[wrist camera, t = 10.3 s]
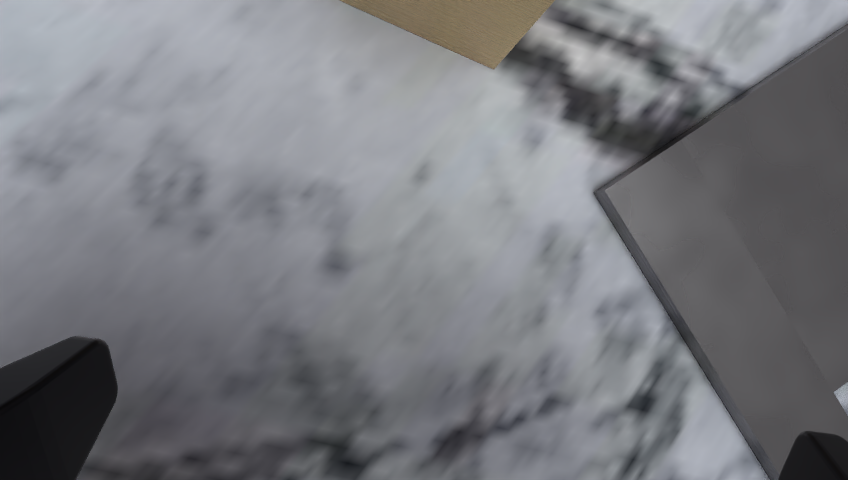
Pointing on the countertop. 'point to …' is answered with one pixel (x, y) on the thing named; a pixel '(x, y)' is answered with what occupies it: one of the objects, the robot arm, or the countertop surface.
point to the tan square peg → (462, 23)
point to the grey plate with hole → (756, 247)
